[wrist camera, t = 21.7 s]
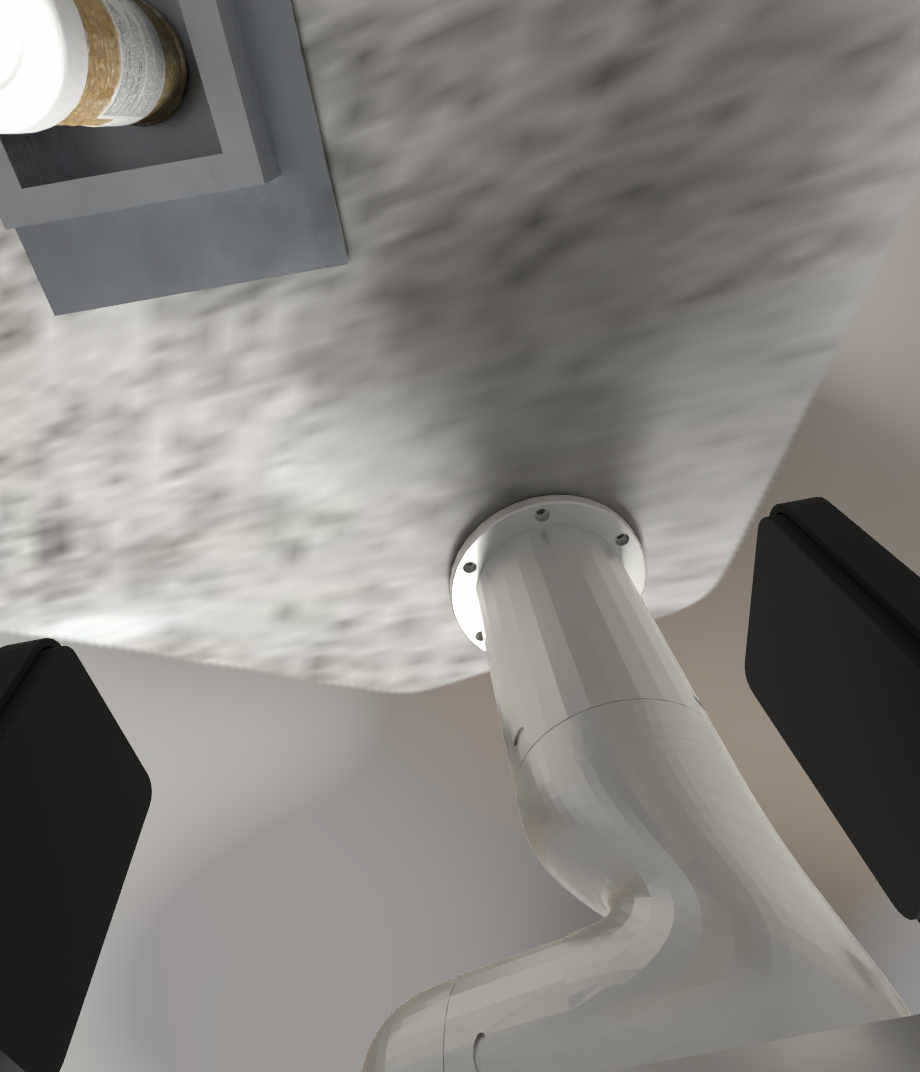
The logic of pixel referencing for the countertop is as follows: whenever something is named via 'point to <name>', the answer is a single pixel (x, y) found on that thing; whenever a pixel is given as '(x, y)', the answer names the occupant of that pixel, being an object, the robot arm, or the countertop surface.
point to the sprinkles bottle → (87, 64)
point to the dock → (184, 174)
